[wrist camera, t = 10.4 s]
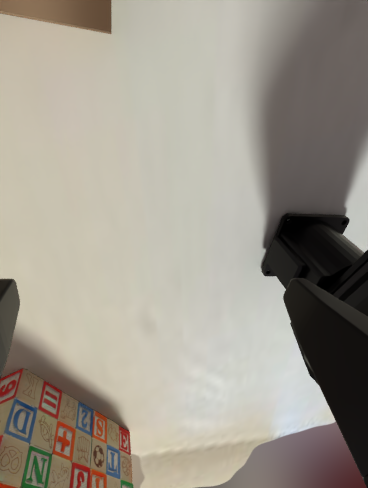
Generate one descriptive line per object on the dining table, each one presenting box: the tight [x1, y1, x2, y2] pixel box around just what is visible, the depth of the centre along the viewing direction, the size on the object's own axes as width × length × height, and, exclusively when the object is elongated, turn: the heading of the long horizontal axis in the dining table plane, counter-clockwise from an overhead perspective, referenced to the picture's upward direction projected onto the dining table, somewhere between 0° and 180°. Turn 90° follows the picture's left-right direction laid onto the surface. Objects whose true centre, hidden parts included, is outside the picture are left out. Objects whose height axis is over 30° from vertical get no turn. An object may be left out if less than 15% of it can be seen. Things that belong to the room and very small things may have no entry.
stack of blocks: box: [0, 368, 133, 488], centre depth 29 cm, size 21×6×12 cm, turn 23°
